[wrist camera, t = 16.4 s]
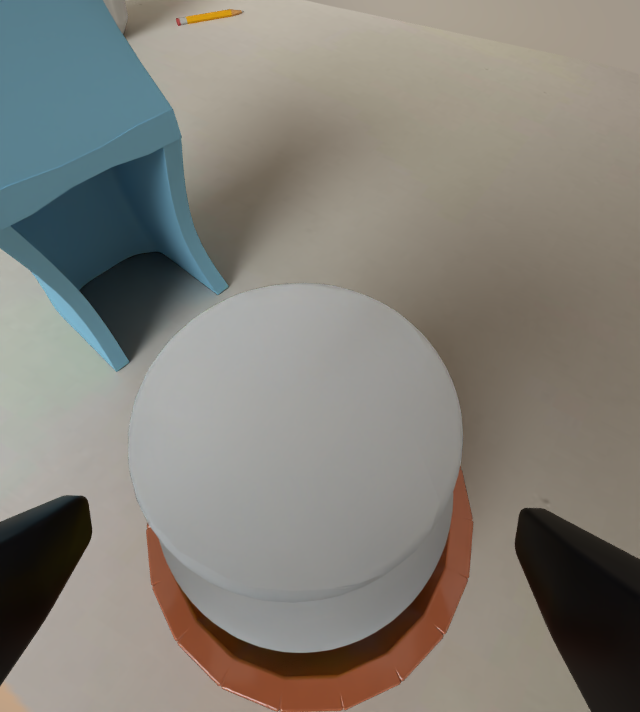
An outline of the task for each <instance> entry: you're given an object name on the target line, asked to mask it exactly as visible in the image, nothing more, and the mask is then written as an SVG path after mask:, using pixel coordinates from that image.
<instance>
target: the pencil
mask: <svg viewBox="0 0 640 712" xmlns="http://www.w3.org/2000/svg"><path fill="white" fill-rule="evenodd" d="M242 12H244V11H241V10H232V9H229V10H223V11H217V12H211V13H205V14H199V15H193V16H187V17H182V18H176V22H177V24H178V26H180V25H185V24H191V23H197V22H202V21H208V20H214V19H219V18H225V17H231V16H235V15H238V14H240V13H242Z"/></svg>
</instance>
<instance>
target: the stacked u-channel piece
mask: <svg viewBox="0 0 640 712" xmlns="http://www.w3.org/2000/svg"><path fill="white" fill-rule="evenodd" d="M181 138H182V136H181V133H180V130H179V127H178V124H177V120H176V117H175V114H174V111H173V109H172V107H171V106H170V104H169V103H168V101H167V100H166V98H165V97H164V95H163V94H162V93H161V91H160V90H159V88H158V87H157V85H156V84H155V82H154V81H153V79H152V78H151V76H150V75H149V74H148V72H147V71H146V69H145V68H144V66H143V65H142V63H141V62H140V60H139V59H138V57H137V56H136V54H135V52H134V51H133V49H132V48H131V46H130V45H129V43H128V42H127V40H126V38H125V37H124V35H123V34H122V32H121V31H120V29H119V28H118V26H117V24H116V22H115V21H114V19H113V17H112V15H111V14H110V12H109V10H108V8H107V7H106V5H105V3H104V1H103V0H0V248H1V249H2V250H3V251H5V252H6V253H7V254H9V255H10V256H12V257H13V258H14V259H16V260H17V261H18V262H20V263H21V264H22V265H24V266H25V267H26V268H28V269H29V270H30V271H31V272H32V273H33V275H34V276H35V277H36V279H37V280H38V282H39V283H40V285H41V286H42V288H43V289H44V291H45V293H46V294H47V296H48V298H49V299H50V301H51V303H52V304H53V306H54V307H55V309H56V310H57V311H58V312H59V313H60V315H61V316H62V317H63V318H64V319H65V320H66V321H67V322H68V323H69V324H70V325H71V326H72V327H73V328H74V329H75V330H76V331H77V332H78V333H79V334H80V335H81V336H82V337H83V338H84V339H85V340H86V341H87V342H88V343H89V344H90V345H91V346H92V347H93V348H94V349H95V350H96V351H97V352H98V353H99V354H100V355H101V356H102V357H103V358H104V359H105V360H106V361H107V362H108V363H109V364H110V365H111V366H112V367H113V368H114V369H115V371H119V370H120V369H121V368H122V367H124V366H125V365H126V364H128V363H129V361H128V359H127V357H126V356H125V354H124V353H123V351H122V349H121V348H120V346H119V344H118V343H117V341H116V340H115V338H114V337H113V335H112V334H111V332H110V331H109V329H108V328H107V326H106V325H105V323H104V322H103V320H102V319H101V318H100V316H99V315H98V313H97V312H96V311H95V310H94V308H93V307H92V306H91V304H90V303H89V302H88V301H87V299H86V298H85V297H84V296H83V295H82V294H81V293H80V291H79V290H80V289H81V288H82V287H83V286H84V285H85V284H87V283H88V282H90V281H91V280H92V279H94V278H95V277H97V276H99V275H100V274H102V273H103V272H105V271H107V270H108V269H110V268H111V267H113V266H115V265H116V264H118V263H119V262H121V261H123V260H125V259H127V258H129V257H131V256H133V255H136V254H141V253H148V252H161V253H163V254H164V255H166V256H167V257H168V258H170V259H171V260H172V261H174V262H175V263H176V264H178V265H179V266H180V267H182V268H183V269H184V270H186V271H187V272H188V273H190V274H191V275H192V276H193V277H195V278H196V279H197V280H199V281H200V282H201V283H203V284H204V285H205V286H207V287H208V288H209V289H211V290H212V291H213V292H215V293H216V294H217V295H219V294H220V293H221V292H222V291H224V290H225V289H226V288H228V287H229V286H228V285H227V283H226V282H225V280H224V279H223V278H222V276H221V275H220V273H219V272H218V271H217V269H216V267H215V266H214V264H213V263H212V261H211V260H210V258H209V256H208V255H207V253H206V251H205V249H204V248H203V246H202V244H201V241H200V239H199V237H198V235H197V232H196V230H195V228H194V224H193V221H192V217H191V214H190V210H189V205H188V199H187V194H186V187H185V179H184V170H183V156H182V143H181Z"/></svg>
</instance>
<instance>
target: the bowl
mask: <svg viewBox="0 0 640 712" xmlns="http://www.w3.org/2000/svg"><path fill="white" fill-rule="evenodd" d="M472 519H473V518H472V513H471V509H470V504H469V500H468V495H467V491H466V486H465V481H464V477H463V472H462V470H461V466H460V469H459V474H458V478H457V481H456V484H455V487H454V491H453V511H452V518H451V524H450V529H449V533H448V537H447V541H446V544H445V547H444V549H443V552H442V555H441V557H440V559H439V562H438V564H437V566H436V568H435V570H434V572H433V573H432V575H431V577H430V579H429V580H428V582H427V583H426V585H425V586H424V588H423V589H422V591H421V592H420V593H419V594H418V596H417V597H416V598H415V599H414V601H413V602H412V603H411V604H410V605H409V606H408V607H407V608H406V609H405V610H404V611H403V612H402V613H401V614H400V615H398V616H397V617H396V618H395V619H394V620H393V621H392V622H390V623H389V624H387V625H386V626H384V627H383V628H381V629H380V630H378V631H377V632H375V633H373V634H371V635H370V636H368V637H366V638H364V639H362V640H360V641H357V642H354V643H352V644H349V645H346V646H343V647H339V648H336V649H332V650H326V651H319V652H309V653H292V652H281V651H275V650H271V649H266V648H262V647H258V646H256V645H253V644H250V643H248V642H245V641H243V640H241V639H238V638H236V637H235V636H233V635H231V634H229V633H228V632H226V631H225V630H223V629H222V628H220V627H219V626H217V625H216V624H214V623H213V622H212V621H211V620H210V619H208V618H207V617H206V616H205V615H204V614H202V612H201V611H200V610H199V609H198V608H197V607H196V606H195V605H194V604H193V603H192V602H191V601H190V599H189V598H188V597H187V595H186V594H185V593H184V592H183V590H182V589H181V587H180V586H179V584H178V583H177V581H176V580H175V578H174V576H173V574H172V572H171V570H170V568H169V566H168V564H167V562H166V559H165V557H164V554H163V551H162V548H161V545H160V542H159V538H158V537H157V536H156V534H155V533H154V531H153V530H152V529H151V527H150V526H149V524H148V522H147V528H148V529H147V530H146V534H147V545H148V556H149V567H150V578H151V585H152V586H153V591H154V594H155V596H156V598H157V600H158V603H159V605H160V607H161V610H162V612H163V614H164V616H165V619H166V621H167V623H168V626H169V628H170V630H171V632H172V635H173V637H174V639H175V640H176V641H178V642H177V643H178V645H179V646H180V647H181V648H182V649H183V650H184V651H185V652H186V653H187V655H188V656H189V657H190V658H191V659H192V660H193V661H194V662H195V663H196V664H197V665H198V666H199V667H200V668H201V669H202V670H203V671H204V672H205V673H206V674H207V675H208V676H209V677H210V678H211V679H212V680H213V681H214V682H215V683H216V684H217V685H218V686H221V687H222V689H224V690H226V691H228V692H231V693H233V694H236V695H238V696H240V697H243V698H245V699H248V700H250V701H252V702H255V703H257V704H259V705H262V706H264V707H267V708H269V709H271V710H274V711H279V710H280V712H323V711H341V710H343V709H344V710H347V709H349V708H351V707H353V706H355V705H357V704H360V703H362V702H364V701H366V700H368V699H370V698H372V697H374V696H376V695H378V694H381V693H383V692H385V691H387V690H389V689H391V688H393V687H395V686H397V685H399V684H400V683H401V681H404V680H405V679H406V678H407V677H408V676H409V675H410V674H411V672H412V671H413V670H414V669H415V668H416V667H417V666H418V665H419V664H420V663H421V662H422V660H423V659H424V658H425V657H426V656H427V655H428V654H429V653H430V652H431V651H432V649H433V648H434V647H435V646H436V645H437V644H438V643H439V642H440V641H441V640H442V639H443V636H444V635H445V634H446V633H447V630H448V628H449V625H450V623H451V621H452V618H453V616H454V613H455V611H456V608H457V606H458V604H459V601H460V599H461V596H462V594H463V592H464V589H465V587H466V584H467V582H468V579H467V578H469V572H470V559H471V546H472V533H473V521H472ZM443 634H444V635H443Z"/></svg>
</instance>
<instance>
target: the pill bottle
mask: <svg viewBox="0 0 640 712" xmlns="http://www.w3.org/2000/svg"><path fill="white" fill-rule="evenodd" d="M462 447H463V427H462V414H461V409H460V404H459V400H458V396H457V393H456V390H455V387H454V384H453V381H452V379H451V377H450V374H449V372H448V370H447V368H446V366H445V364H444V363H443V361H442V360H441V358H440V356H439V355H438V353H437V351H436V350H435V349H434V347H433V346H432V345H431V344H430V342H429V341H428V340H427V338H426V337H425V336H424V335H423V334H422V333H421V332H420V331H419V330H418V329H417V328H416V327H415V326H414V325H413V324H412V323H410V322H409V321H408V320H407V319H406V318H404V317H403V316H402V315H401V314H400V313H398V312H397V311H395V310H394V309H392V308H390V307H389V306H387V305H385V304H384V303H382V302H379V301H377V300H375V299H373V298H372V297H369V296H367V295H364V294H361V293H359V292H356V291H353V290H350V289H346V288H342V287H338V286H334V285H327V284H318V283H286V284H279V285H272V286H267V287H262V288H256V289H252V290H249V291H246V292H242V293H239V294H236V295H234V296H232V297H230V298H227V299H225V300H223V301H221V302H219V303H217V304H215V305H214V306H212V307H210V308H209V309H207V310H206V311H204V312H202V313H201V314H199V315H198V316H196V317H195V318H194V319H192V320H191V321H190V322H189V323H188V324H187V325H185V326H184V327H183V328H182V329H181V330H179V331H178V332H177V333H176V334H175V335H174V336H173V337H172V339H171V340H170V341H169V342H168V343H167V344H166V345H165V347H164V348H163V350H162V351H161V352H160V354H159V355H158V356H157V358H156V359H155V360H154V362H153V363H152V365H151V367H150V368H149V370H148V372H147V373H146V375H145V377H144V380H143V382H142V384H141V386H140V389H139V391H138V393H137V395H136V398H135V402H134V406H133V410H132V414H131V419H130V425H129V432H128V462H129V470H130V476H131V479H132V483H133V486H134V490H135V495H136V499H137V501H138V503H139V506H140V508H141V510H142V512H143V514H144V516H145V518H146V520H147V522H148V524H149V526H150V527H151V529H152V530H153V531H154V533H155V534H156V536H157V537H158V538H159V542H160V545H161V548H162V551H163V554H164V557H165V559H166V562H167V564H168V566H169V568H170V570H171V572H172V574H173V576H174V578H175V580H176V581H177V583H178V584H179V586H180V587H181V589H182V590H183V592H184V593H185V594H186V595H187V597H188V598H189V599H190V601H191V602H192V603H193V604H194V605H195V606H196V607H197V608H198V609H199V610H200V611H201V612H202V614H204V615H205V616H206V617H207V618H208V619H210V620H211V621H212V622H213V623H214V624H216V625H217V626H219V627H220V628H222V629H223V630H225V631H226V632H228V633H229V634H231V635H233V636H235V637H236V638H238V639H241V640H243V641H245V642H248V643H250V644H253V645H256V646H258V647H262V648H266V649H271V650H275V651H281V652H292V653H309V652H319V651H326V650H332V649H336V648H339V647H343V646H346V645H349V644H352V643H354V642H357V641H360V640H362V639H364V638H366V637H368V636H370V635H371V634H373V633H375V632H377V631H378V630H380V629H381V628H383V627H384V626H386V625H387V624H389V623H390V622H392V621H393V620H394V619H395V618H396V617H397V616H398V615H400V614H401V613H402V612H403V611H404V610H405V609H406V608H407V607H408V606H409V605H410V604H411V603H412V602H413V601H414V599H415V598H416V597H417V596H418V594H419V593H420V592H421V591H422V589H423V588H424V586H425V585H426V583H427V582H428V580H429V579H430V577H431V575H432V573H433V572H434V570H435V568H436V566H437V564H438V562H439V559H440V557H441V555H442V552H443V549H444V547H445V544H446V541H447V537H448V533H449V529H450V524H451V518H452V511H453V491H454V487H455V484H456V481H457V478H458V474H459V469H460V464H461V459H462Z"/></svg>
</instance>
